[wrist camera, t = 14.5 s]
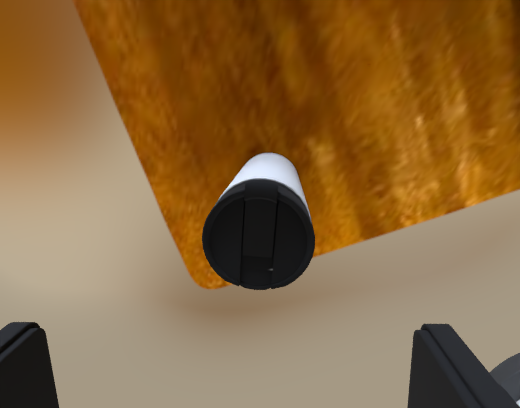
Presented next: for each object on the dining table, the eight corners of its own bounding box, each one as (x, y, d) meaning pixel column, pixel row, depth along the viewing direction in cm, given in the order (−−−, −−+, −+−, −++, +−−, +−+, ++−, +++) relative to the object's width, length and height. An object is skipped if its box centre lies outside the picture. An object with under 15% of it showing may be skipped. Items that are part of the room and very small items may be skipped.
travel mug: (301, 151, 38) (324, 186, 18) (295, 213, 39) (310, 305, 20) (241, 146, 38) (200, 176, 19) (237, 208, 40) (196, 295, 20)
